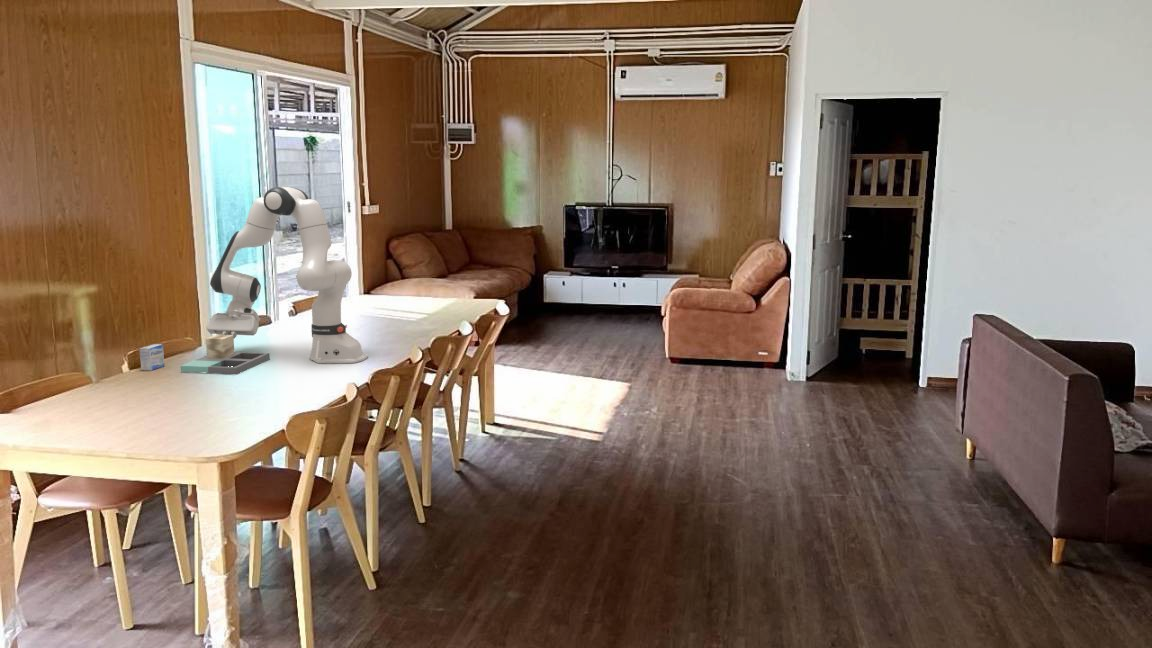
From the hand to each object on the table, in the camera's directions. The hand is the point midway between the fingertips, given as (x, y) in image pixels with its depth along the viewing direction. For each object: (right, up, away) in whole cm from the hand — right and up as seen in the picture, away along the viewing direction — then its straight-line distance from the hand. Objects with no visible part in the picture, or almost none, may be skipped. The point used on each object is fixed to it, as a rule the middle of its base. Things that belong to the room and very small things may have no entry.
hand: (226, 342), depth 352 cm
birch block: (-1, -5, -4) cm, 6 cm away
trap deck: (+4, -9, -9) cm, 14 cm away
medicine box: (-22, -10, -15) cm, 28 cm away
